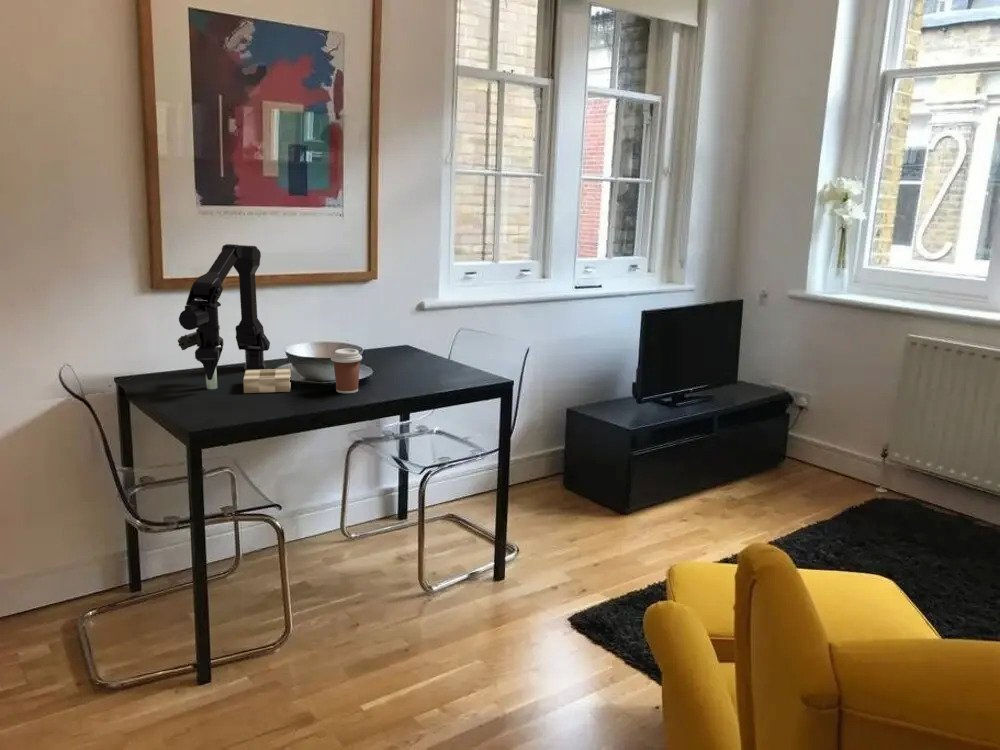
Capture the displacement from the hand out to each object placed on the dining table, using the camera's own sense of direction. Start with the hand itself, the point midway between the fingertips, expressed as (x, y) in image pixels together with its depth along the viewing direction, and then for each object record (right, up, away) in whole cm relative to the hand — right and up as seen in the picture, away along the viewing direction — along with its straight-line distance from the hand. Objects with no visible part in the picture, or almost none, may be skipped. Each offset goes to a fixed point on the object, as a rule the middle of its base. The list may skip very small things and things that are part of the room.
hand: (211, 375), depth 247 cm
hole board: (+16, -3, +3) cm, 16 cm away
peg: (0, -4, +1) cm, 4 cm away
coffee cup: (+40, -5, +2) cm, 40 cm away
